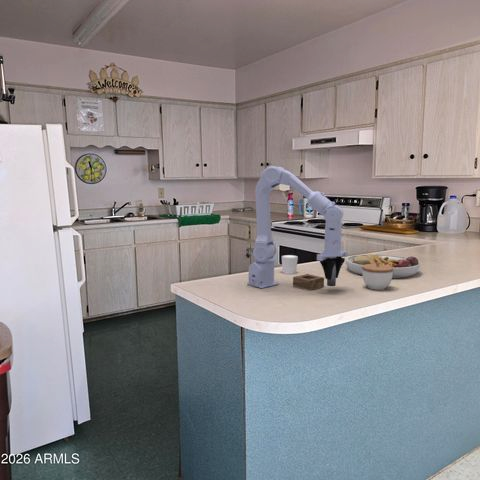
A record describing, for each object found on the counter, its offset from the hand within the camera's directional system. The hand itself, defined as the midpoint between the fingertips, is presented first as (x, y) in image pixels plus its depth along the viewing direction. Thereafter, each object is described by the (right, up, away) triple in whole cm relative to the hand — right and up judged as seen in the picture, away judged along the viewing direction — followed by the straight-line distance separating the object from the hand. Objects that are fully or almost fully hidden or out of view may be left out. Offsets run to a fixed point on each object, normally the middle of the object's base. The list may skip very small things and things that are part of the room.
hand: (331, 278), depth 147 cm
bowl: (+29, 0, +32) cm, 43 cm away
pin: (0, -3, 0) cm, 2 cm away
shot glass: (-11, 0, +30) cm, 32 cm away
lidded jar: (+18, -4, +5) cm, 19 cm away
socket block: (-7, -4, +6) cm, 10 cm away
